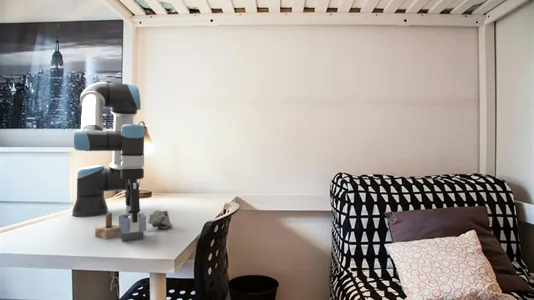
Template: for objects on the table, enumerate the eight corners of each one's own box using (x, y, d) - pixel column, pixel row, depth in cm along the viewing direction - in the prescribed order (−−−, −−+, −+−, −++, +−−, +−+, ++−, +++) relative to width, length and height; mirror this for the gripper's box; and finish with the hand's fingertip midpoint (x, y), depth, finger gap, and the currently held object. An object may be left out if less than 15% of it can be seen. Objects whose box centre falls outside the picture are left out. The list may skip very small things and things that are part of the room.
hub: (120, 237, 110) (120, 215, 110) (140, 234, 114) (141, 213, 114) (122, 242, 105) (122, 218, 105) (143, 239, 108) (143, 216, 108)
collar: (118, 228, 110) (118, 215, 110) (142, 226, 115) (142, 212, 115) (121, 234, 104) (121, 219, 104) (146, 231, 108) (146, 216, 108)
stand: (95, 236, 111) (95, 214, 111) (111, 232, 117) (111, 211, 117) (105, 238, 108) (105, 216, 108) (122, 234, 114) (122, 213, 114)
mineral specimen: (168, 240, 124) (147, 231, 126) (179, 224, 129) (158, 216, 131) (163, 228, 117) (141, 219, 119) (175, 211, 122) (154, 203, 124)
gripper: (118, 166, 118) (117, 221, 118) (124, 170, 97) (123, 237, 97) (139, 165, 122) (138, 219, 122) (149, 169, 100) (148, 234, 100)
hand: (132, 227), depth 109 cm, fingers open, 13 cm apart
